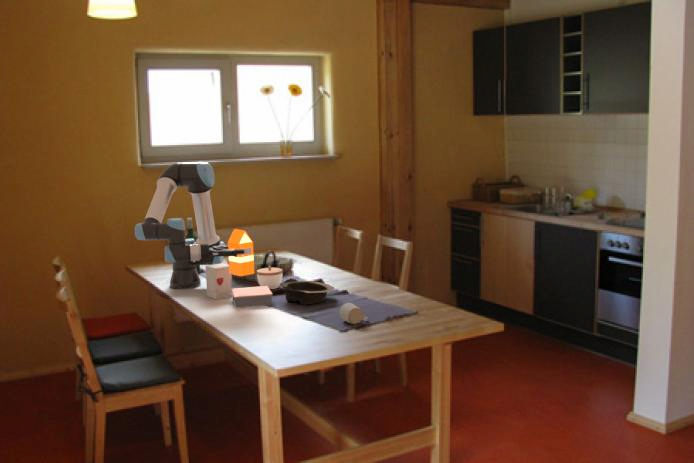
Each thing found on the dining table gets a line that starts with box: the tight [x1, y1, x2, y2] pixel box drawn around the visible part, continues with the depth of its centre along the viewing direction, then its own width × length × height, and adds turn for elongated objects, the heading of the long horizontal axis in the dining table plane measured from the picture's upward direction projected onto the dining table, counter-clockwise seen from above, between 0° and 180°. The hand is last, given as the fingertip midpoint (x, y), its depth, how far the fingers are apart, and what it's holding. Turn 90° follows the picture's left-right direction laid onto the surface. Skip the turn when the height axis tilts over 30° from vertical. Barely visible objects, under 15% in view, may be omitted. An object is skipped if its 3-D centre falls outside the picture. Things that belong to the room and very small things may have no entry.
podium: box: [231, 285, 274, 309], centre depth 365 cm, size 17×17×5 cm
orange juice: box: [227, 228, 255, 277], centre depth 359 cm, size 8×9×20 cm
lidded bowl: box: [256, 265, 284, 290], centre depth 390 cm, size 13×13×11 cm
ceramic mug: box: [339, 302, 369, 325], centre depth 326 cm, size 11×8×8 cm
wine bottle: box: [185, 217, 201, 275], centre depth 429 cm, size 8×8×30 cm
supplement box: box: [205, 262, 233, 300], centre depth 376 cm, size 9×9×15 cm
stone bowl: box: [280, 278, 335, 306], centre depth 364 cm, size 25×25×9 cm
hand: (250, 248), depth 360 cm, fingers closed on orange juice, 10 cm apart
